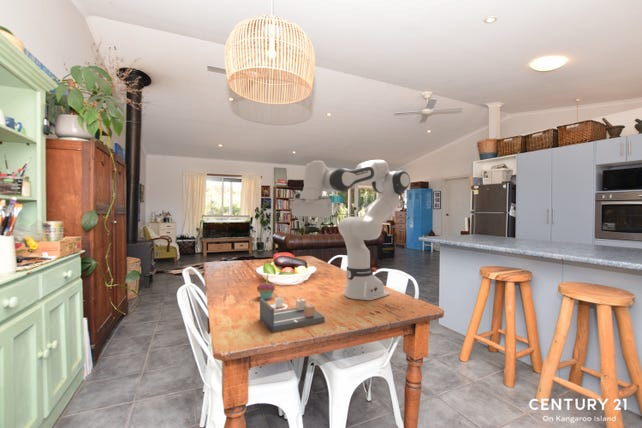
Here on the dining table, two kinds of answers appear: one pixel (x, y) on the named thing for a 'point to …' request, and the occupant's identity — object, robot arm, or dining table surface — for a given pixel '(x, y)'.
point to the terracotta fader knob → (309, 310)
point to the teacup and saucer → (278, 304)
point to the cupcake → (266, 289)
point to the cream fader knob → (300, 304)
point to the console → (286, 318)
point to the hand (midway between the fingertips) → (309, 227)
